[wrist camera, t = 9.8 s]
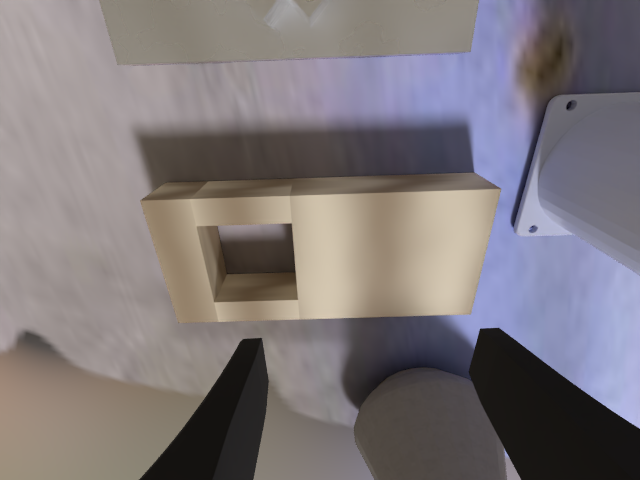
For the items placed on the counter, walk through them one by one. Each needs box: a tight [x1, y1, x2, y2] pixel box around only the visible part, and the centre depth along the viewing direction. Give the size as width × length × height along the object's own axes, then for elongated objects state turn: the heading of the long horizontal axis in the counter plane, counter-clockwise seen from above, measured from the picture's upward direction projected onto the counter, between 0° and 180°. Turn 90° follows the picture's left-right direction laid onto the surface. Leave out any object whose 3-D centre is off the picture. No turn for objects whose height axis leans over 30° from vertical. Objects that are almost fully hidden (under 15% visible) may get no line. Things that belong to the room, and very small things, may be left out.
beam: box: [140, 172, 501, 323], centre depth 19 cm, size 18×8×3 cm, turn 92°
